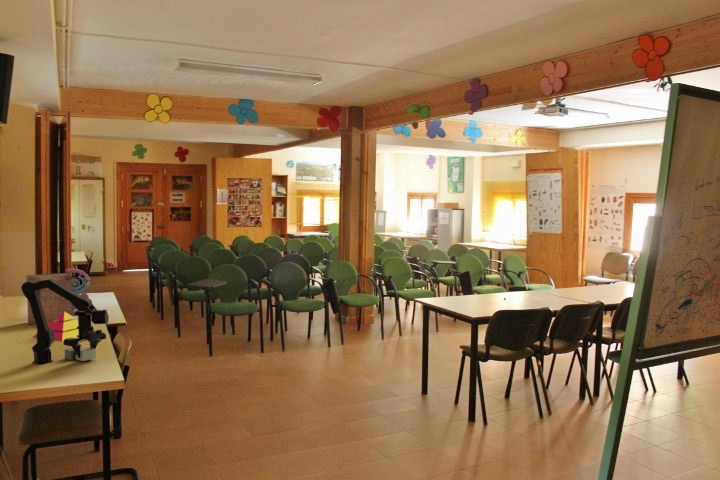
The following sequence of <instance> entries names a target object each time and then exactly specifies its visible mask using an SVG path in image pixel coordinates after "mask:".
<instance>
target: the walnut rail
mask: <svg viewBox="0 0 720 480" xmlns="http://www.w3.org/2000/svg"><path fill="white" fill-rule="evenodd" d="M73 360H76V361H78V360H77V359H76V353H73ZM87 361H89V360H86V361H82V363H83V362H87Z"/></svg>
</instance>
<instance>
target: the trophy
mask: <svg viewBox="0 0 720 480" xmlns="http://www.w3.org/2000/svg"><path fill="white" fill-rule="evenodd" d="M65 273H73V276H74V277H75V275H76V273H77V274H79V275H78V277H77V278H78V279H77V278H72V292H74V293H75V294H78V295H82V296H85V297H87V298H89V297H90V295H89V294H87V292H86V290H87V289H88V287H90V285H91V281H90V280H92V279H91V278H90V276H89V275H88V273H86V272H85V271H84V270H81V269H78V268H67V269H65ZM82 276H83V277H82ZM79 279H80V280H81V281H82V283H80V281H79ZM85 280H86V281H87V282H86V283H85ZM84 284H85V285H84ZM76 311H77V309H76V308H75V307H74V306H73V314H75V313H76ZM80 312H84V311H80Z"/></svg>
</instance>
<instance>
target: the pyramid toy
mask: <svg viewBox="0 0 720 480" xmlns="http://www.w3.org/2000/svg"><path fill="white" fill-rule="evenodd" d="M54 320H55V321H52V322H51V323H47V325H48V327H49V328H50V330H51V329H54V334H55V335H56V337H55V341H56V340H59V342H64V340H65V339H67V338H76V339H77V338H78V337H77V335H79V332H78V329H77V327H78V318H77V319H76V318H75V316H71V315H69V314H68V313H66V312H65V311H64V312H63V313H62V314H61V315H59V316H58V317H57V318H56V319H54ZM32 338H33V339H34V338H35V339H37V333H36V334H35V335H32Z"/></svg>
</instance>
